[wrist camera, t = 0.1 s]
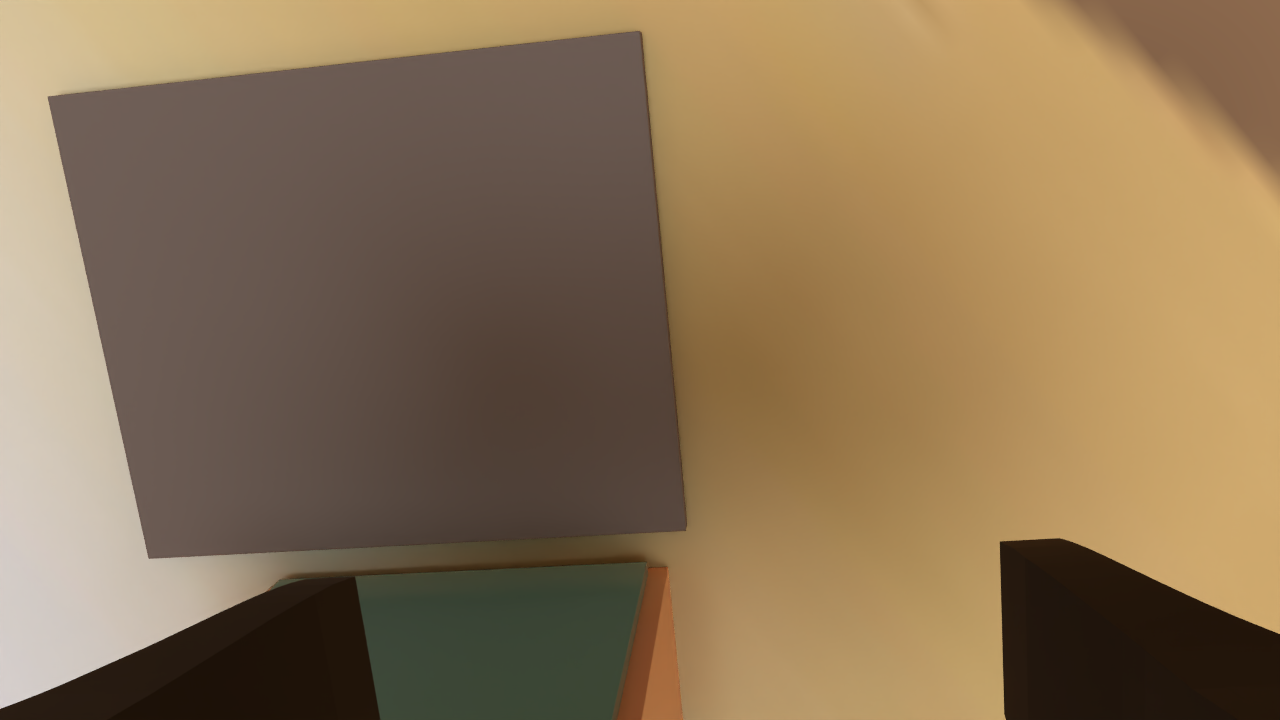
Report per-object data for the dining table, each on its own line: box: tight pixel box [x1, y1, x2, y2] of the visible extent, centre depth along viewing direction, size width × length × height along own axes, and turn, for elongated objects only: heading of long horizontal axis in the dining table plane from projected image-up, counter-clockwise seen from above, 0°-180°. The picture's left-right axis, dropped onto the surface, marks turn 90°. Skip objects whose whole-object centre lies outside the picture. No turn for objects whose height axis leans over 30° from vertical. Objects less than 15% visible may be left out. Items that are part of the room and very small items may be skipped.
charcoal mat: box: [48, 31, 687, 559], centre depth 21 cm, size 10×12×1 cm
